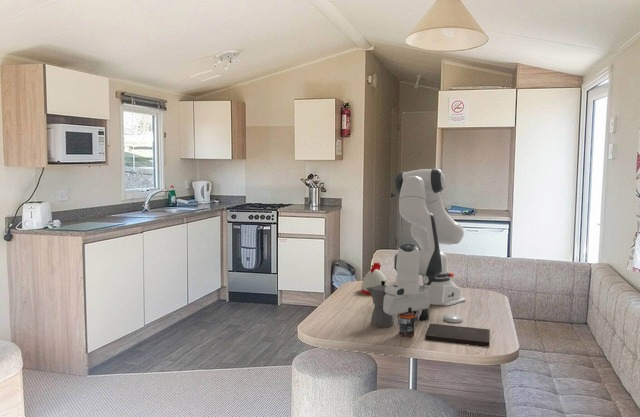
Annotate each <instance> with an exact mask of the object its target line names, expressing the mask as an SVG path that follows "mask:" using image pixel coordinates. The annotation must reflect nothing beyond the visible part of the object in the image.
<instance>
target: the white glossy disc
mask: <svg viewBox="0 0 640 417" xmlns="http://www.w3.org/2000/svg"><path fill="white" fill-rule="evenodd" d="M443 321H445V322H447V323H452V324H458V323H459V324H460V323H463V322H464V317H463V316H461V315H457V314H445V315H443Z"/></svg>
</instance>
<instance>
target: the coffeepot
mask: <svg viewBox="0 0 640 417" xmlns="http://www.w3.org/2000/svg"><path fill="white" fill-rule="evenodd" d="M381 284H382V285H378V286H374V287H369V288H367V290H368V291H369V292H370V294H371V295H370V296H371V298H372V303H373V305H374V308H373V311H372V315H371V321H370V324H371V325H372V326H374V327H378V328H390V327H393V325H395V324H394V319H393V317H392V316H391V315H388V314H386V313H385V312H384V311H383V301H384V296H385V294H387V293H386V292H385V287H387V286H386V285H385V281H381Z"/></svg>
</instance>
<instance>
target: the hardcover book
mask: <svg viewBox="0 0 640 417" xmlns="http://www.w3.org/2000/svg"><path fill="white" fill-rule="evenodd" d="M490 331H491V330H490V329H488V328H481V327H480V328H479V327H472V326H471V327H470V326H468V327H467V326H461V325H460V326H459V325H451V324H441V323H431V322H430V323H429V325H428V328H427V330H426V332H425V335H424V341H430V342H439V343H441V342H442V343H450V344H458V345H460V344H461V345H466V344H469V346H475V345H478V347H484V346H489V347H490V335H491V334H490V333H491V332H490Z"/></svg>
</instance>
